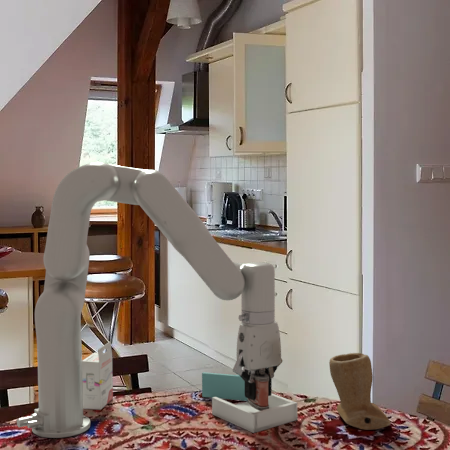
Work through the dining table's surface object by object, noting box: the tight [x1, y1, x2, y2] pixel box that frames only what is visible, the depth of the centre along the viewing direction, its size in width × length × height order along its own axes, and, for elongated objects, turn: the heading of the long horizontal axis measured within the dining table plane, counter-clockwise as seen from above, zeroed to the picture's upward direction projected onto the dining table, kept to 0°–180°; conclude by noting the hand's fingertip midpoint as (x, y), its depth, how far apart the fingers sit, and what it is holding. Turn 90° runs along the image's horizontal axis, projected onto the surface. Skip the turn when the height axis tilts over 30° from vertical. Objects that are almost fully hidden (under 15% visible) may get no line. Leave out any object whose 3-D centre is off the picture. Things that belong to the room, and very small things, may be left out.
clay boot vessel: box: [328, 352, 391, 431], centre depth 157 cm, size 15×12×15 cm
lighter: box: [246, 368, 269, 411], centre depth 158 cm, size 8×3×10 cm, turn 22°
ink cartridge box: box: [82, 341, 114, 410], centre depth 169 cm, size 9×5×15 cm, turn 168°
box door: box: [201, 371, 247, 402], centre depth 172 cm, size 13×1×6 cm, turn 73°
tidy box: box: [211, 393, 298, 434], centre depth 159 cm, size 13×15×4 cm
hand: (258, 395), depth 158 cm, fingers closed on lighter, 4 cm apart
